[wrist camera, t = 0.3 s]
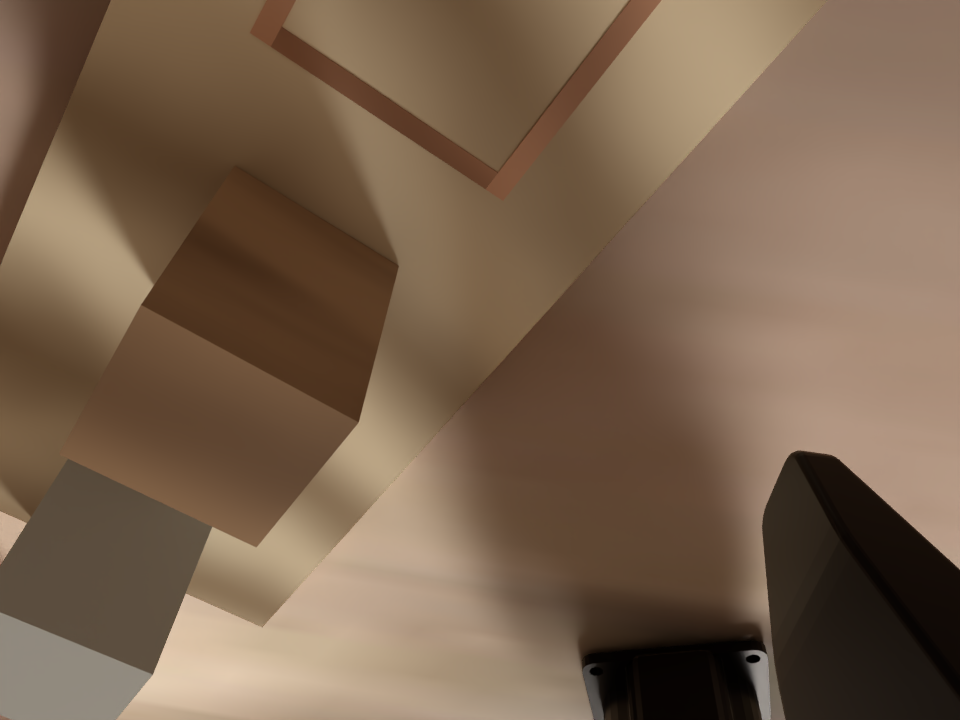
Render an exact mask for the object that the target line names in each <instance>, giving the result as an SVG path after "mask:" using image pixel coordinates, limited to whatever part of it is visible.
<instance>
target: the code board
mask: <svg viewBox="0 0 960 720" xmlns="http://www.w3.org/2000/svg"><path fill="white" fill-rule="evenodd" d="M826 1H827V0H111V1H110V4H109V6H108V9H107V11H106V13H105V16H104V18H103V21H102V23H101V25H100V28H99V30H98V33H97V35H96V37H95V40H94V42H93V45H92V47H91V49H90V52H89V54H88V56H87V59H86V61H85V64H84V66H83V68H82V71H81V73H80V76H79V78H78V80H77V83H76V85H75V88H74V90H73V92H72V95H71V97H70V100H69V102H68V104H67V107H66V109H65V112H64V114H63V116H62V119H61V121H60V124H59V126H58V128H57V131H56V133H55V135H54V138H53V140H52V143H51V145H50V147H49V150H48V152H47V155H46V157H45V159H44V162H43V164H42V167H41V169H40V171H39V174H38V176H37V179H36V181H35V183H34V186H33V188H32V191H31V193H30V195H29V198H28V200H27V203H26V205H25V207H24V210H23V212H22V215H21V217H20V219H19V222H18V224H17V226H16V229H15V231H14V234H13V236H12V238H11V241H10V243H9V246H8V248H7V250H6V253H5V255H4V258H3V260H2V262H1V265H0V511H1V512H4V513H6V514H8V515H10V516H13V517H15V518H17V519H19V520H22V521H24V522H26V523H28V521H29V520H30V518H31V517H32V515H33V513H34V512H35V510H36V509H37V507H38V505H39V504H40V502H41V501H42V499H43V498H44V496H45V494H46V493H47V491H48V490H49V488H50V486H51V485H52V483H53V482H54V480H55V479H56V477H57V475H58V474H59V472H60V471H61V469H62V467H63V466H64V464H65V463H66V461H67V460H68V458H66V457H63V456H61V455H59V453H60V451H61V449H62V447H63V445H64V443H65V442H66V440H67V438H68V436H69V434H70V433H71V431H72V429H73V427H74V425H75V423H76V422H77V420H78V418H79V416H80V414H81V413H82V411H83V409H84V407H85V405H86V404H87V402H88V400H89V398H90V396H91V394H92V393H93V391H94V389H95V387H96V385H97V384H98V382H99V380H100V378H101V376H102V375H103V373H104V371H105V369H106V367H107V365H108V364H109V362H110V360H111V358H112V356H113V355H114V353H115V351H116V349H117V347H118V346H119V344H120V342H121V340H122V338H123V336H124V335H125V333H126V331H127V329H128V327H129V326H130V324H131V322H132V320H133V318H134V316H135V315H136V313H137V311H138V309H139V307H140V306H141V304H142V302H143V301H144V300H145V298H146V297H147V295H148V294H149V292H150V291H151V289H152V288H153V286H154V285H155V283H156V282H157V280H158V279H159V277H160V276H161V274H162V273H163V271H164V270H165V268H166V267H167V265H168V264H169V262H170V261H171V259H172V258H173V256H174V255H175V253H176V252H177V251H178V249H179V248H180V246H181V245H182V243H183V242H184V240H185V239H186V237H187V236H188V234H189V233H190V231H191V230H192V228H193V227H194V225H195V224H196V222H197V221H198V219H199V218H200V216H201V215H202V213H203V212H204V210H205V209H206V207H207V206H208V205H209V203H210V202H211V200H212V199H213V197H214V196H215V194H216V193H217V191H218V190H219V188H220V187H221V185H222V184H223V182H224V181H225V179H226V178H227V176H228V175H229V173H230V172H231V170H232V169H233V167H234V166H236V167H238V168H240V169H241V170H243V171H245V172H246V173H248V174H249V175H251V176H253V177H254V178H256V179H258V180H259V181H261V182H263V183H264V184H266V185H267V186H269V187H271V188H272V189H274V190H276V191H277V192H279V193H281V194H282V195H284V196H286V197H287V198H289V199H290V200H292V201H294V202H295V203H297V204H299V205H300V206H302V207H304V208H305V209H307V210H308V211H310V212H312V213H313V214H315V215H317V216H318V217H320V218H322V219H323V220H325V221H326V222H328V223H330V224H331V225H333V226H335V227H336V228H338V229H340V230H341V231H343V232H344V233H346V234H348V235H349V236H351V237H353V238H354V239H356V240H358V241H359V242H361V243H362V244H364V245H366V246H367V247H369V248H371V249H372V250H374V251H376V252H377V253H379V254H380V255H382V256H384V257H385V258H387V259H389V260H390V261H392V262H394V263H395V264H397V265H398V266H399V268H398V272H397V276H396V280H395V284H394V287H393V291H392V295H391V299H390V303H389V307H388V311H387V315H386V319H385V322H384V326H383V330H382V334H381V338H380V342H379V346H378V350H377V354H376V358H375V361H374V365H373V369H372V373H371V377H370V381H369V385H368V389H367V393H366V397H365V400H364V404H363V408H362V412H361V416H360V420H359V423H358V424H357V425H356V427H355V428H354V429H353V430H352V431H351V433H350V434H349V435H348V436H347V438H346V439H345V440H344V441H343V442H342V444H341V445H340V446H339V447H338V449H337V450H336V451H335V452H334V453H333V455H332V456H331V457H330V458H329V460H328V461H327V462H326V463H325V464H324V466H323V467H322V468H321V469H320V471H319V472H318V473H317V474H316V475H315V477H314V478H313V479H312V480H311V482H310V483H309V484H308V485H307V486H306V488H305V489H304V490H303V491H302V493H301V494H300V495H299V496H298V497H297V499H296V500H295V501H294V502H293V504H292V505H291V506H290V507H289V508H288V510H287V511H286V512H285V513H284V515H283V516H282V517H281V518H280V519H279V521H278V522H277V523H276V524H275V526H274V527H273V528H272V529H271V530H270V532H269V533H268V534H267V535H266V537H265V538H264V539H263V540H262V541H261V543H260V544H259V545H258V546H257V548H256V547H254V546H252V545H250V544H248V543H246V542H243V541H241V540H239V539H237V538H235V537H233V536H231V535H229V534H226V533H224V532H222V531H220V530H218V529H216V528H214V527H212V529H211V531H210V534H209V536H208V539H207V541H206V544H205V546H204V549H203V551H202V554H201V556H200V559H199V561H198V564H197V566H196V569H195V571H194V573H193V576H192V578H191V581H190V583H189V586H188V588H187V591H186V594H189V595H191V596H193V597H195V598H198V599H200V600H202V601H204V602H207V603H209V604H211V605H213V606H216V607H218V608H220V609H222V610H225V611H227V612H229V613H231V614H234V615H236V616H238V617H240V618H243V619H245V620H247V621H249V622H252V623H254V624H256V625H258V626H261V627H263V626H264V625H265V624H266V623H267V621H268V620H269V619H270V618H271V617H272V616H273V615H274V614H275V613H276V611H277V610H278V609H279V608H280V607H281V606H282V605H283V604H284V603H285V601H286V600H287V599H288V598H289V597H290V596H291V595H292V594H293V593H294V591H295V590H296V589H297V588H298V587H299V586H300V585H301V584H302V583H303V581H304V580H305V579H306V578H307V577H308V576H309V575H310V574H311V573H312V571H313V570H314V569H315V568H316V567H317V566H318V565H319V564H320V563H321V562H322V560H323V559H324V558H325V557H326V556H327V555H328V554H329V553H330V552H331V550H332V549H333V548H334V547H335V546H336V545H337V544H338V543H339V542H340V540H341V539H342V538H343V537H344V536H345V535H346V534H347V533H348V532H349V530H350V529H351V528H352V527H353V526H354V525H355V524H356V523H357V522H358V520H359V519H360V518H361V517H362V516H363V515H364V514H365V513H366V512H367V510H368V509H369V508H370V507H371V506H372V505H373V504H374V503H375V502H376V501H377V499H378V498H379V497H380V496H381V495H382V494H383V493H384V492H385V491H386V489H387V488H388V487H389V486H390V485H391V484H392V483H393V482H394V481H395V479H396V478H397V477H398V476H399V475H400V474H401V473H402V472H403V471H404V469H405V468H406V467H407V466H408V465H409V464H410V463H411V462H412V461H413V459H414V458H415V457H416V456H417V455H418V454H419V453H420V452H421V451H422V450H423V448H424V447H425V446H426V445H427V444H428V443H429V442H430V441H431V440H432V438H433V437H434V436H435V435H436V434H437V433H438V432H439V431H440V430H441V428H442V427H443V426H444V425H445V424H446V423H447V422H448V421H449V420H450V418H451V417H452V416H453V415H454V414H455V413H456V412H457V411H458V410H459V408H460V407H461V406H462V405H463V404H464V403H465V402H466V401H467V400H468V398H469V397H470V396H471V395H472V394H473V393H474V392H475V391H476V390H477V389H478V387H479V386H480V385H481V384H482V383H483V382H484V381H485V380H486V379H487V377H488V376H489V375H490V374H491V373H492V372H493V371H494V370H495V369H496V367H497V366H498V365H499V364H500V363H501V362H502V361H503V360H504V359H505V357H506V356H507V355H508V354H509V353H510V352H511V351H512V350H513V349H514V347H515V346H516V345H517V344H518V343H519V342H520V341H521V340H522V339H523V337H524V336H525V335H526V334H527V333H528V332H529V331H530V330H531V329H532V328H533V326H534V325H535V324H536V323H537V322H538V321H539V320H540V319H541V318H542V316H543V315H544V314H545V313H546V312H547V311H548V310H549V309H550V308H551V306H552V305H553V304H554V303H555V302H556V301H557V300H558V299H559V298H560V296H561V295H562V294H563V293H564V292H565V291H566V290H567V289H568V288H569V286H570V285H571V284H572V283H573V282H574V281H575V280H576V279H577V278H578V277H579V275H580V274H581V273H582V272H583V271H584V270H585V269H586V268H587V267H588V265H589V264H590V263H591V262H592V261H593V260H594V259H595V258H596V257H597V255H598V254H599V253H600V252H601V251H602V250H603V249H604V248H605V247H606V245H607V244H608V243H609V242H610V241H611V240H612V239H613V238H614V237H615V235H616V234H617V233H618V232H619V231H620V230H621V229H622V228H623V227H624V225H625V224H626V223H627V222H628V221H629V220H630V219H631V218H632V217H633V216H634V214H635V213H636V212H637V211H638V210H639V209H640V208H641V207H642V206H643V204H644V203H645V202H646V201H647V200H648V199H649V198H650V197H651V196H652V194H653V193H654V192H655V191H656V190H657V189H658V188H659V187H660V186H661V184H662V183H663V182H664V181H665V180H666V179H667V178H668V177H669V176H670V174H671V173H672V172H673V171H674V170H675V169H676V168H677V167H678V166H679V164H680V163H681V162H682V161H683V160H684V159H685V158H686V157H687V156H688V155H689V153H690V152H691V151H692V150H693V149H694V148H695V147H696V146H697V145H698V143H699V142H700V141H701V140H702V139H703V138H704V137H705V136H706V135H707V133H708V132H709V131H710V130H711V129H712V128H713V127H714V126H715V125H716V123H717V122H718V121H719V120H720V119H721V118H722V117H723V116H724V115H725V113H726V112H727V111H728V110H729V109H730V108H731V107H732V106H733V105H734V104H735V102H736V101H737V100H738V99H739V98H740V97H741V96H742V95H743V94H744V92H745V91H746V90H747V89H748V88H749V87H750V86H751V85H752V84H753V82H754V81H755V80H756V79H757V78H758V77H759V76H760V75H761V74H762V72H763V71H764V70H765V69H766V68H767V67H768V66H769V65H770V64H771V62H772V61H773V60H774V59H775V58H776V57H777V56H778V55H779V54H780V52H781V51H782V50H783V49H784V48H785V47H786V46H787V45H788V44H789V43H790V41H791V40H792V39H793V38H794V37H795V36H796V35H797V34H798V33H799V31H800V30H801V29H802V28H803V27H804V26H805V25H806V24H807V23H808V21H809V20H810V19H811V18H812V17H813V16H814V15H815V14H816V13H817V11H818V10H819V9H820V8H821V7H822V6H823V5H824V4H825V3H826Z"/></svg>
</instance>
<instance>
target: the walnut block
mask: <svg viewBox="0 0 960 720" xmlns="http://www.w3.org/2000/svg"><path fill="white" fill-rule="evenodd" d="M398 268H399V266H398V265H397V264H395V263H394V262H392V261H390V260H389V259H387V258H385V257H384V256H382V255H380V254H379V253H377V252H376V251H374V250H372V249H371V248H369V247H367V246H366V245H364V244H362V243H361V242H359V241H358V240H356V239H354V238H353V237H351V236H349V235H348V234H346V233H344V232H343V231H341V230H340V229H338V228H336V227H335V226H333V225H331V224H330V223H328V222H326V221H325V220H323V219H322V218H320V217H318V216H317V215H315V214H313V213H312V212H310V211H308V210H307V209H305V208H304V207H302V206H300V205H299V204H297V203H295V202H294V201H292V200H290V199H289V198H287V197H286V196H284V195H282V194H281V193H279V192H277V191H276V190H274V189H272V188H271V187H269V186H267V185H266V184H264V183H263V182H261V181H259V180H258V179H256V178H254V177H253V176H251V175H249V174H248V173H246V172H245V171H243V170H241V169H240V168H238V167H236V166H234V167H233V169H232V170H231V172H230V173H229V175H228V176H227V178H226V179H225V181H224V182H223V184H222V185H221V187H220V188H219V190H218V191H217V193H216V194H215V196H214V197H213V199H212V200H211V202H210V203H209V205H208V206H207V207H206V209H205V210H204V212H203V213H202V215H201V216H200V218H199V219H198V221H197V222H196V224H195V225H194V227H193V228H192V230H191V231H190V233H189V234H188V236H187V237H186V239H185V240H184V242H183V243H182V245H181V246H180V248H179V249H178V251H177V252H176V253H175V255H174V256H173V258H172V259H171V261H170V262H169V264H168V265H167V267H166V268H165V270H164V271H163V273H162V274H161V276H160V277H159V279H158V280H157V282H156V283H155V285H154V286H153V288H152V289H151V291H150V292H149V294H148V295H147V297H146V298H145V300H144V301H143V302H142V304H141V306H140V307H139V309H138V311H137V313H136V315H135V316H134V318H133V320H132V322H131V324H130V326H129V327H128V329H127V331H126V333H125V335H124V336H123V338H122V340H121V342H120V344H119V346H118V347H117V349H116V351H115V353H114V355H113V356H112V358H111V360H110V362H109V364H108V365H107V367H106V369H105V371H104V373H103V375H102V376H101V378H100V380H99V382H98V384H97V385H96V387H95V389H94V391H93V393H92V394H91V396H90V398H89V400H88V402H87V404H86V405H85V407H84V409H83V411H82V413H81V414H80V416H79V418H78V420H77V422H76V423H75V425H74V427H73V429H72V431H71V433H70V434H69V436H68V438H67V440H66V442H65V443H64V445H63V447H62V449H61V451H60V453H59V455H61V456H63V457H66V458H68V459H70V460H72V461H74V462H76V463H78V464H80V465H83V466H85V467H87V468H89V469H91V470H93V471H95V472H97V473H99V474H102V475H104V476H106V477H108V478H110V479H112V480H114V481H116V482H119V483H121V484H123V485H125V486H127V487H129V488H131V489H133V490H135V491H138V492H140V493H142V494H144V495H146V496H148V497H150V498H152V499H154V500H157V501H159V502H161V503H163V504H165V505H167V506H169V507H171V508H174V509H176V510H178V511H180V512H182V513H184V514H186V515H188V516H190V517H193V518H195V519H197V520H199V521H201V522H203V523H205V524H207V525H210V526H212V527H214V528H216V529H218V530H220V531H222V532H224V533H226V534H229V535H231V536H233V537H235V538H237V539H239V540H241V541H243V542H246V543H248V544H250V545H252V546H254V547H256V548H257V546H258V545H259V544H260V543H261V541H262V540H263V539H264V538H265V537H266V535H267V534H268V533H269V532H270V530H271V529H272V528H273V527H274V526H275V524H276V523H277V522H278V521H279V519H280V518H281V517H282V516H283V515H284V513H285V512H286V511H287V510H288V508H289V507H290V506H291V505H292V504H293V502H294V501H295V500H296V499H297V497H298V496H299V495H300V494H301V493H302V491H303V490H304V489H305V488H306V486H307V485H308V484H309V483H310V482H311V480H312V479H313V478H314V477H315V475H316V474H317V473H318V472H319V471H320V469H321V468H322V467H323V466H324V464H325V463H326V462H327V461H328V460H329V458H330V457H331V456H332V455H333V453H334V452H335V451H336V450H337V449H338V447H339V446H340V445H341V444H342V442H343V441H344V440H345V439H346V438H347V436H348V435H349V434H350V433H351V431H352V430H353V429H354V428H355V427H356V425H357V424H358V423H359V420H360V416H361V412H362V408H363V404H364V400H365V397H366V393H367V389H368V385H369V381H370V377H371V373H372V369H373V365H374V361H375V358H376V354H377V350H378V346H379V342H380V338H381V334H382V330H383V326H384V322H385V319H386V315H387V311H388V307H389V303H390V299H391V295H392V291H393V287H394V284H395V280H396V276H397V272H398Z"/></svg>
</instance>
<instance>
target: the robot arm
mask: <svg viewBox="0 0 960 720" xmlns="http://www.w3.org/2000/svg"><path fill="white" fill-rule="evenodd" d="M762 531H763V543H764V555H765V566H766V577H767V589H768V600H769V612H770V623H771V634H772V645H773V654H774V662H775V669H776V674H777V680H778V686H779V691H780V696H781V700H782V705H783V710H784V715H785V719H786V720H960V569H959V568H958V567H956V566H955V565H954V564H953V563H952V562H951V561H950V560H949V559H948V558H947V557H945V556H944V555H943V554H942V553H941V552H940V551H939V550H938V549H937V548H936V547H934V546H933V545H932V544H931V543H930V542H929V541H928V540H927V539H926V538H925V537H923V536H922V535H921V534H920V533H919V532H918V531H917V530H916V529H915V528H914V527H913V526H911V525H910V524H909V523H908V522H907V521H906V520H905V519H904V518H903V517H902V516H900V515H899V514H898V513H897V512H896V511H895V510H894V509H893V508H892V507H891V506H889V505H888V504H887V503H886V502H885V501H884V500H883V499H882V498H881V497H880V496H878V495H877V494H876V493H875V492H874V491H873V490H872V489H871V488H870V487H869V486H868V485H866V484H865V483H864V482H863V481H862V480H861V479H860V478H859V477H858V476H857V475H855V474H854V473H853V472H852V471H851V470H850V469H849V468H848V467H847V466H846V465H844V464H843V463H842V462H841V461H840V460H839V459H837V458H836V457H834V456H832V455H828V454H821V453H814V452H807V451H796V452H793V453H791V454H790V455H789V457H788V458H787V459H786V461H785V463H784V466H783V468H782V470H781V473H780V475H779V477H778V479H777V482H776V484H775V486H774V489H773V491H772V493H771V496H770V498H769V500H768V503H767V505H766V508H765V511H764V515H763V525H762ZM582 672H583V677H584V681H585V685H586V689H587V693H588V697H589V701H590V705H591V709H592V713H593V717H594V720H771V711H770V690H769V670H768V656H767V652H766V648H765V645H764V644H763V643H761V642H759V641H751V640H750V641H738V642H726V643H714V644H702V645H691V646H679V647H667V648H655V649H643V650H631V651H619V652H607V653H595V654H590V655H587V656H585V657H584V658H583V660H582Z"/></svg>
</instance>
